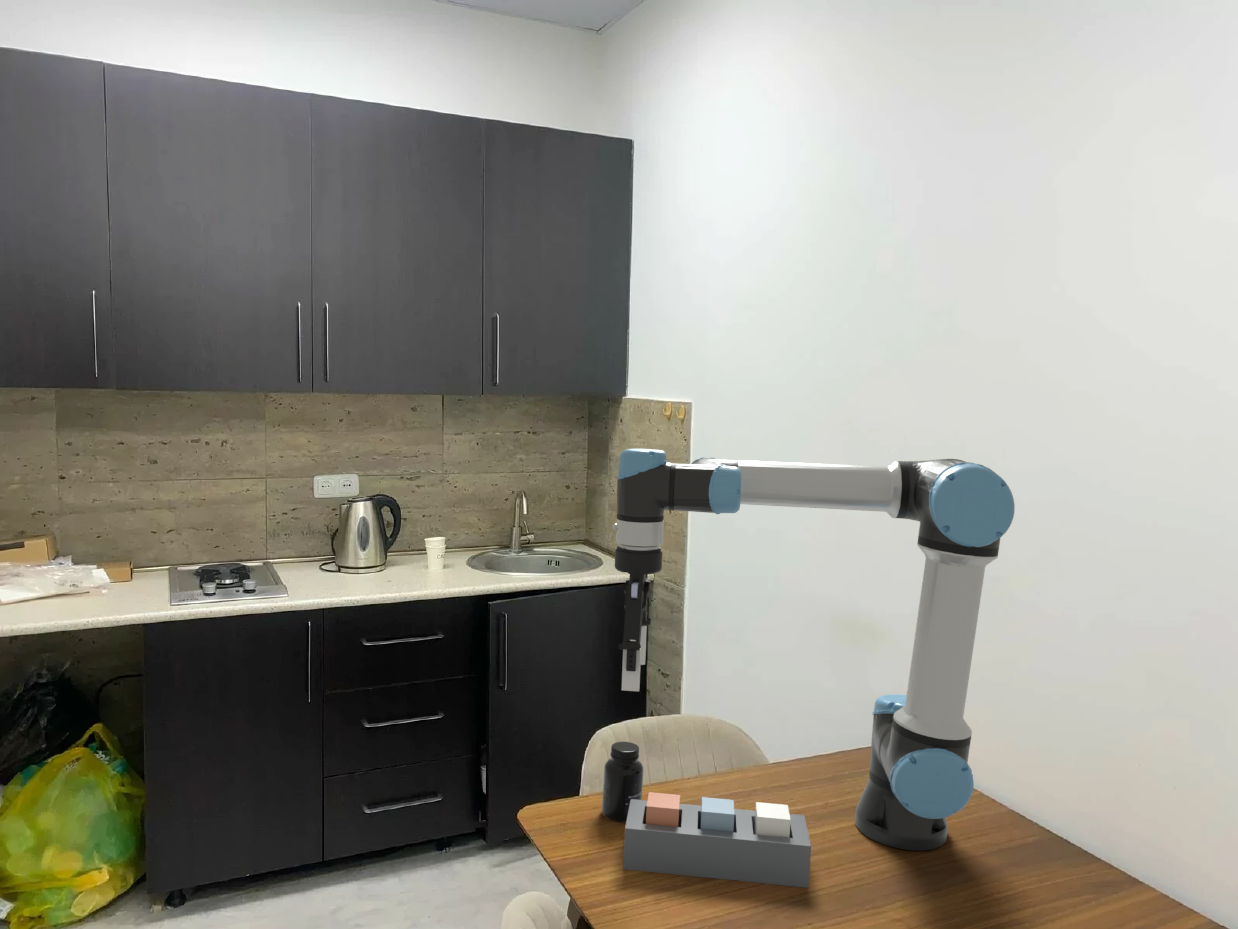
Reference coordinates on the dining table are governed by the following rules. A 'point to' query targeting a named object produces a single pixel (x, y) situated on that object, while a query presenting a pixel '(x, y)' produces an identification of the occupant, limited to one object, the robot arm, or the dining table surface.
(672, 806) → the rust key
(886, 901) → the dining table surface
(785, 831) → the white key
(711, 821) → the blue key
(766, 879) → the console
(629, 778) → the supplement bottle
